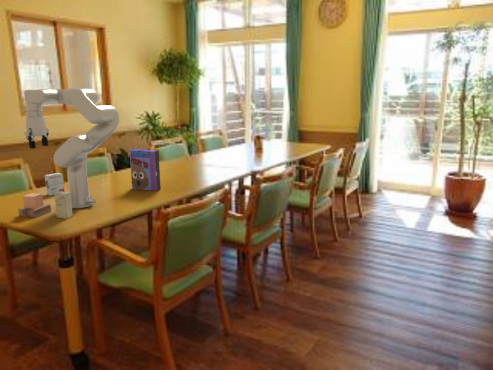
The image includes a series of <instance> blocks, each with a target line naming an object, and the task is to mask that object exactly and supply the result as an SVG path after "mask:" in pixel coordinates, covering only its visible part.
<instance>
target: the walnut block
mask: <svg viewBox="0 0 493 370" xmlns="http://www.w3.org/2000/svg"><path fill="white" fill-rule="evenodd" d="M51 212H52V208H51V204H45V203H43V206H41V207H38V208H36V209H30V208H24V206H22V207H19V208H18V216H19V217H28V218H38V217H41V216H44V215H46V214H48V213H51Z"/></svg>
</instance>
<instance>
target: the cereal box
mask: <svg viewBox="0 0 493 370" xmlns="http://www.w3.org/2000/svg"><path fill="white" fill-rule="evenodd" d="M128 151H129V161H130V162H129V163H130V164H129V165H130V175H131V176H130V177H131V189H132V190H135V189H136V190H140V191H141V190H144V191H150V192H151V191H152V192H157V190H158V191H159V190H162V189H161V174H160V173H161V172H160V171H161V170H160V155H159V154H160V152H159V150H154V149H153V150H151V149H148V150H147V149H137V148H136V149H135V148H134V149H130V150H128Z"/></svg>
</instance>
